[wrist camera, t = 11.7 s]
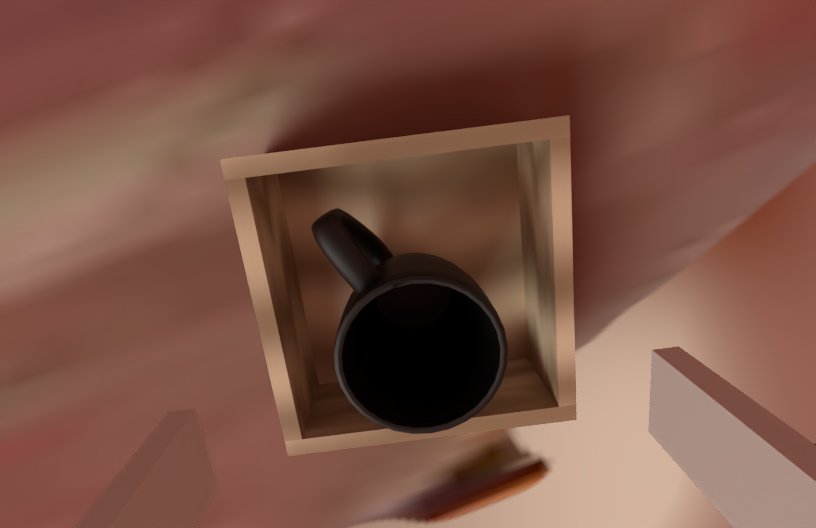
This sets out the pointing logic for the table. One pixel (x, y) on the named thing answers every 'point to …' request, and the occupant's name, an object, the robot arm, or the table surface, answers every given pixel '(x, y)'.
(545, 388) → the open wooden box
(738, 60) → the table surface
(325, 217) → the mug
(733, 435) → the robot arm
